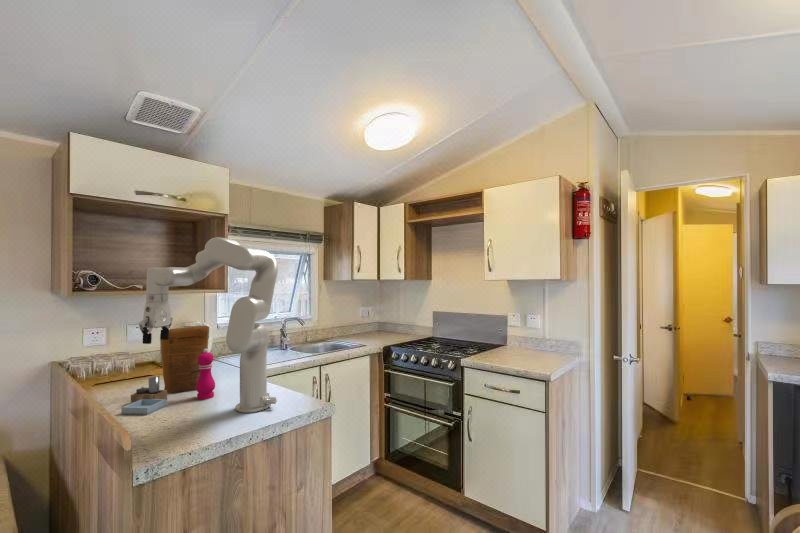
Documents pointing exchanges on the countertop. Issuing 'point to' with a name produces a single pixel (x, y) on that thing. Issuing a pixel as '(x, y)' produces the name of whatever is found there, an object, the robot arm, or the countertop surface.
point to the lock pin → (154, 385)
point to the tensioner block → (147, 395)
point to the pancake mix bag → (183, 357)
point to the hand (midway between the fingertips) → (156, 341)
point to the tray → (144, 406)
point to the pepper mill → (205, 376)
